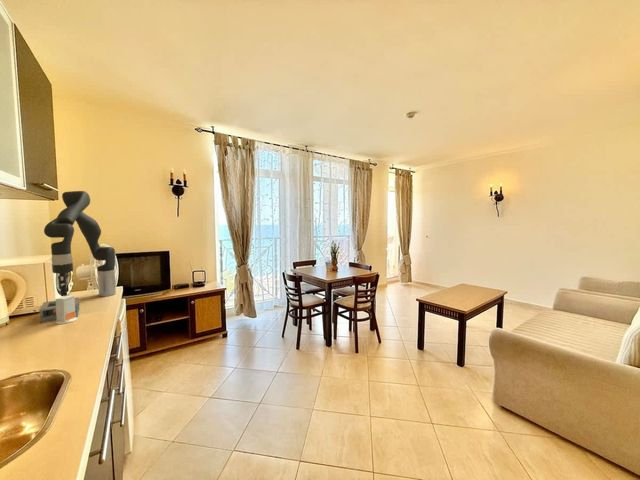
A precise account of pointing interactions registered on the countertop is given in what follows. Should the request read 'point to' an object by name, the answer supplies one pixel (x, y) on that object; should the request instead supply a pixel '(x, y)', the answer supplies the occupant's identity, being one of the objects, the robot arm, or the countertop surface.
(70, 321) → the coaster
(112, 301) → the countertop surface
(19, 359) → the countertop surface
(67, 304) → the skincare box
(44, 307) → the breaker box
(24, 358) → the countertop surface
